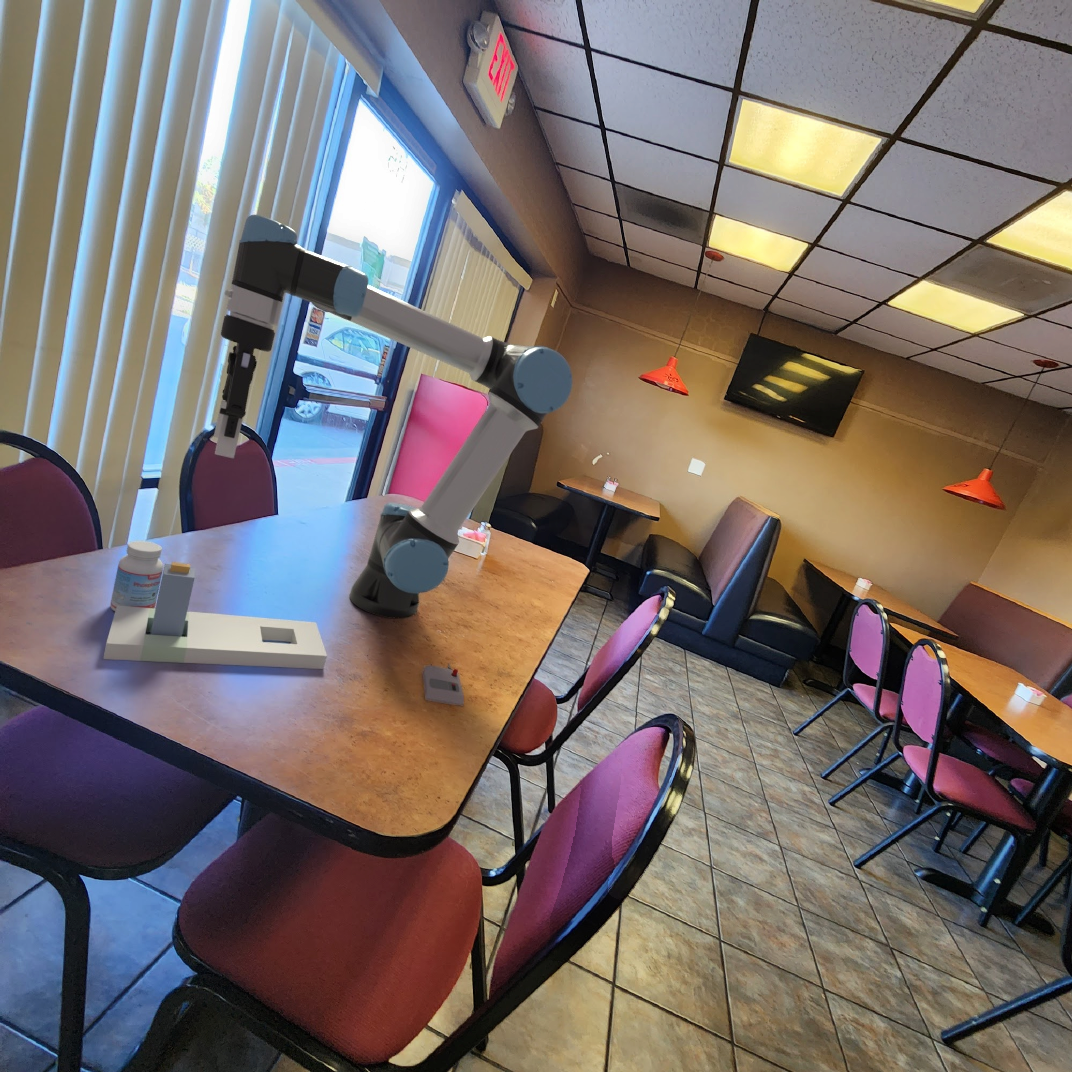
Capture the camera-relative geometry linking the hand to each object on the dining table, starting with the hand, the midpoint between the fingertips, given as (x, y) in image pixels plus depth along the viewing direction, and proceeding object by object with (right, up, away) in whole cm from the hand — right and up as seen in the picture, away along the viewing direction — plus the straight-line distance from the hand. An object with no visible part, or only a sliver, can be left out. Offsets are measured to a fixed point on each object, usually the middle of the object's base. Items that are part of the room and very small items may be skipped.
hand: (223, 446), depth 98 cm
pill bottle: (-13, -27, -3) cm, 30 cm away
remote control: (+35, -43, +7) cm, 56 cm away
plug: (-5, -31, -8) cm, 33 cm away
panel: (+2, -33, -4) cm, 33 cm away
